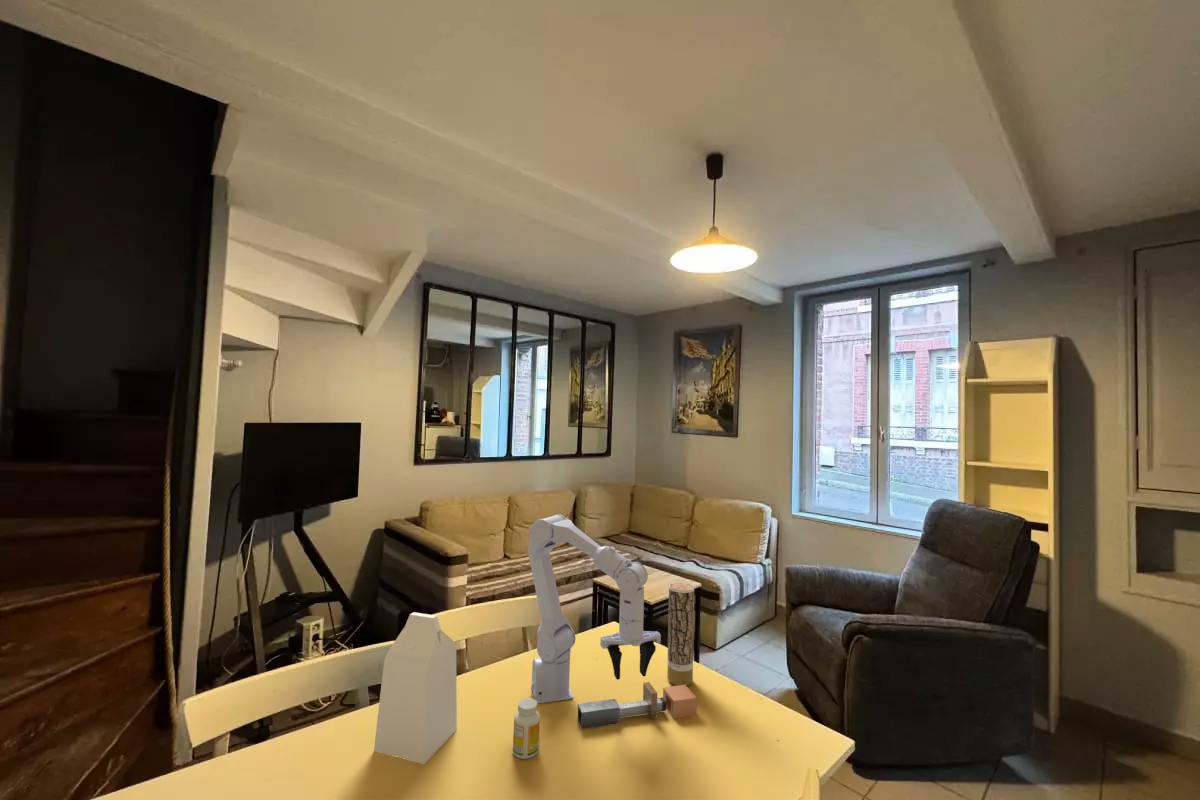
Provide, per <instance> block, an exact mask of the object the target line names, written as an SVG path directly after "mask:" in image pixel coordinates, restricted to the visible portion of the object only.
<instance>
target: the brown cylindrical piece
mask: <svg viewBox="0 0 1200 800" xmlns="http://www.w3.org/2000/svg"><path fill="white" fill-rule="evenodd" d="M694 618H695V586H694V585H692V584H689V583H686V582H673V583H670V584H669V587H668V618H667V619H668V624H667V625H668V627H667V628H668V629H667V677H666V678H667V680H668V681H669V683H671V684H672V685H673V686H678V685H686V686H687V687H688V686H690V685H691V684H692V683H693V678H694V674H693V673H694V631H695V630H694V629H695V627H694V625H695V623H694V622H695V619H694Z"/></svg>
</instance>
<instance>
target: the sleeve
mask: <svg viewBox="0 0 1200 800" xmlns="http://www.w3.org/2000/svg"><path fill="white" fill-rule="evenodd" d="M618 704H619V703H618V701H617V700H616V698H609V699H603V700H596V701H595V700H594V701H590V702H589V701H588V702H581V703H577V722H578V725H579V727H580V729H581V730H586V729H593V728H594V729H595V728H600V727H605V726H611V725H618V724H620V719H621V718H620V707H619V705H618Z"/></svg>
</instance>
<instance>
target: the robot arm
mask: <svg viewBox="0 0 1200 800" xmlns="http://www.w3.org/2000/svg"><path fill="white" fill-rule="evenodd" d="M527 531H528V536H529V542H528V547H527V554H528V559H529V564H530V569H531V574H532V579H533V584H534V589H535V594H536V599H537V605H538V609H539V614H540V619H541V622H540V624H539V627H538V628H537V630H536V631H537V632H536V635H537V641H536V650H537V651H536V652H537V654H538V656H539V657H535V658H533V660H532V667H531V668H532V669H531V670H532V671H531V685H530V687H531V688H530V689H531V692H532V696H533V699H535V700H536V701H537V705H539V704H545V703H551V702H558V701H566V700H567V701H568V700H572V699H574V695H573V692H572V690H571V687H570V671H571V670H570V669H571V667H570V666H571V663H570V662H571V652H572V651H571V649H572V647H573V646H574V645H575V643H576V638H577V637H576V633H575V630H574V629H573V628H572V626H571V624H570V620H569V618H568V617H567V616H566V615H564V614H563V612H562V607H561V601H560V597H559V591H558V589H557V582H556V578H555V573H554V568H553V564H552V563H553V562H552V559H551V552H552V550H553V549H554V547H555V546H556V544H559V543H568V544H569V545H571V546H573V547H574V548H576V549H578V550H579V551H581V552H583V553H584V554H585V555H588V557H590V558H592V560H593V564H594V566H595V567H596V568H597V569H599V570H600V571H601V572H603V573H604V574H606V575H607V576H609V577H610V578H611V579H613V580H614V581H615V583H616V585H617V588H618V589H619V617H618V619H619V623H618V625H619V626H618V627H619V628H618V632H616V633H612V634H609V635H605V636H604V635H603V636H600V645H599V646H600V647H601V648H602V650H603V649H604V650H605V649H607V651H608V654H609V657H610V660H611V664H612V668H613V676H614V677H615V679H616V680H620V679H621V662H622V661H621V660H622V656H623V653H622V651H621V649H620V647H621V646H629V645H630V646H632V647H639V673H640V674H641V676H642V677H646V676H647V675H646V674H647V671H648V668H649V664H650V662H651V659H652V657H653V656H654V654H655V653H656V649H657V647H656V645H655V643H656V644H661V643H662V642H661V637H662V636H661V634H660V632H659V631H657V630H656V631H648V630H647V631H646V630H644V618H645V617H644V609H645V605H644V604H645V586H644V585H645V584H647V583H646V582H647V581H648V579H649V575H648V571H647V568H646V567H645V566H644V565H643V564H642V563H641V562H639V561H632V559H630V558H626V557H625V556H623V555H622V554H620V553H619V552H618V551H616V550H617V549H616V547H614V545H611V546H609V545H603V546H600V545H599V544H598V543H597V542H596V541H594V540H593V539H592V538H591V537H589V536H588V535H587V534H585V533H584V532H583V531H582V530H581V529H579V527H578V526H576V525H575V524H574V523H573V521H572V520H571V519H569V518H567V517H566V516H564V515H562V514H555V515H551V516H548V517H544V518H539V519H537V520H535V521H534V522H533V523H532V525H531V526H530V527H529V528H528V530H527Z"/></svg>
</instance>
